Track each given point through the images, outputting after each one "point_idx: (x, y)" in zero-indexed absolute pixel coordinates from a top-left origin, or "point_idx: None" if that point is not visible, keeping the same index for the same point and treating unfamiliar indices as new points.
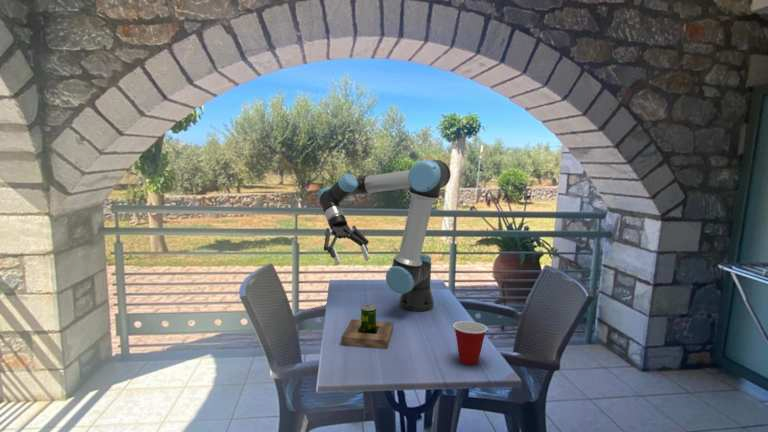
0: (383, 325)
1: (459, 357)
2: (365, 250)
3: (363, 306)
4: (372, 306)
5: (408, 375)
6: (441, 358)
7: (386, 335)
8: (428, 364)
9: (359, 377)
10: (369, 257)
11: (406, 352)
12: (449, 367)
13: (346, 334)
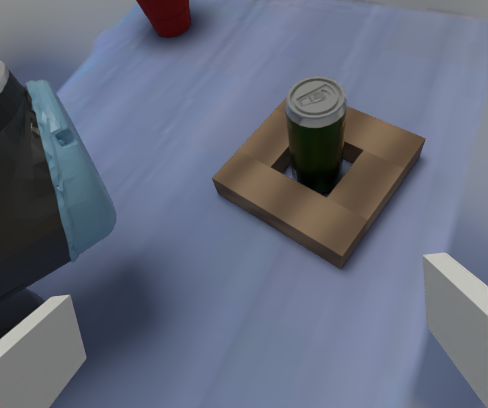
0: (255, 167)
1: (187, 20)
2: (8, 346)
3: (341, 91)
4: (306, 83)
5: (313, 13)
6: (211, 43)
7: (284, 108)
8: (251, 33)
9: (415, 26)
10: (54, 299)
11: (263, 79)
12: (222, 18)
13: (403, 148)
